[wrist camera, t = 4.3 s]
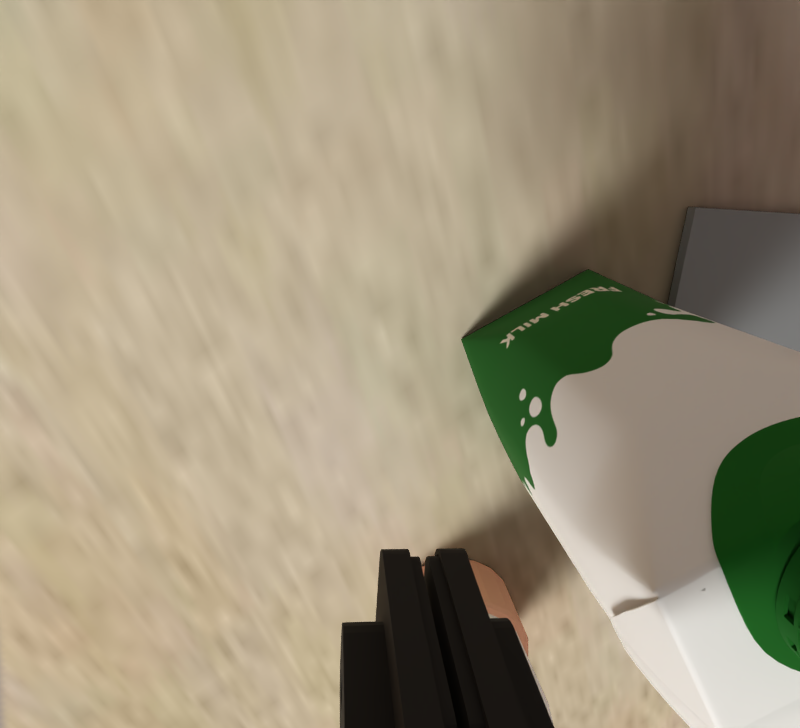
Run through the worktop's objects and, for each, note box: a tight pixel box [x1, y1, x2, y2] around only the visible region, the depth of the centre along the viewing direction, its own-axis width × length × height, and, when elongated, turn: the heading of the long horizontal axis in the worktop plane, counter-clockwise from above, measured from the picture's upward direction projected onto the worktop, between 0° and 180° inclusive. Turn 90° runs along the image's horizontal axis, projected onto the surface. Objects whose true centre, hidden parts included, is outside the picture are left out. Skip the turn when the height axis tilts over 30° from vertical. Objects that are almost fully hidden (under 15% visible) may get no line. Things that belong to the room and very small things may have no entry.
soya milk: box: [461, 269, 800, 728], centre depth 18 cm, size 9×9×20 cm
